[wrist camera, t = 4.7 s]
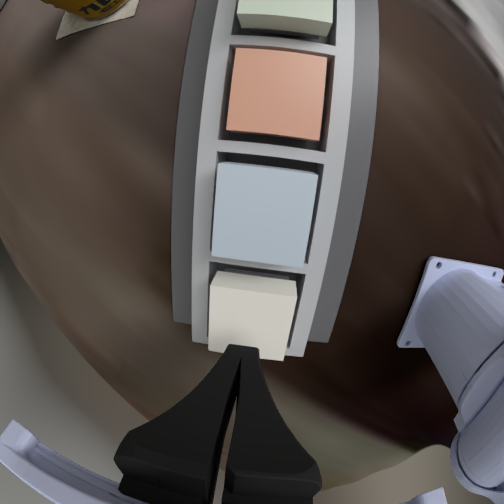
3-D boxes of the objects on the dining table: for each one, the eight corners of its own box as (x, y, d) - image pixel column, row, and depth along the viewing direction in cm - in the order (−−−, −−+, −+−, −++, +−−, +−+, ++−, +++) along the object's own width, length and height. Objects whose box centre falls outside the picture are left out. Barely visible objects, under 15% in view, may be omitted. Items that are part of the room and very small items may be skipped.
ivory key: (294, 272, 16) (297, 297, 14) (283, 331, 18) (282, 360, 15) (221, 262, 17) (210, 285, 14) (218, 322, 18) (208, 350, 15)
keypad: (376, -2, 11) (389, -21, 8) (327, 340, 20) (332, 366, 17) (203, -20, 11) (191, -41, 9) (174, 319, 21) (161, 342, 18)
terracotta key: (318, 73, 13) (327, 57, 10) (311, 142, 15) (319, 140, 12) (243, 64, 13) (236, 47, 11) (235, 133, 15) (225, 129, 12)
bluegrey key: (310, 170, 14) (318, 175, 11) (299, 246, 16) (303, 268, 13) (229, 160, 14) (218, 163, 12) (223, 237, 16) (211, 255, 13)
